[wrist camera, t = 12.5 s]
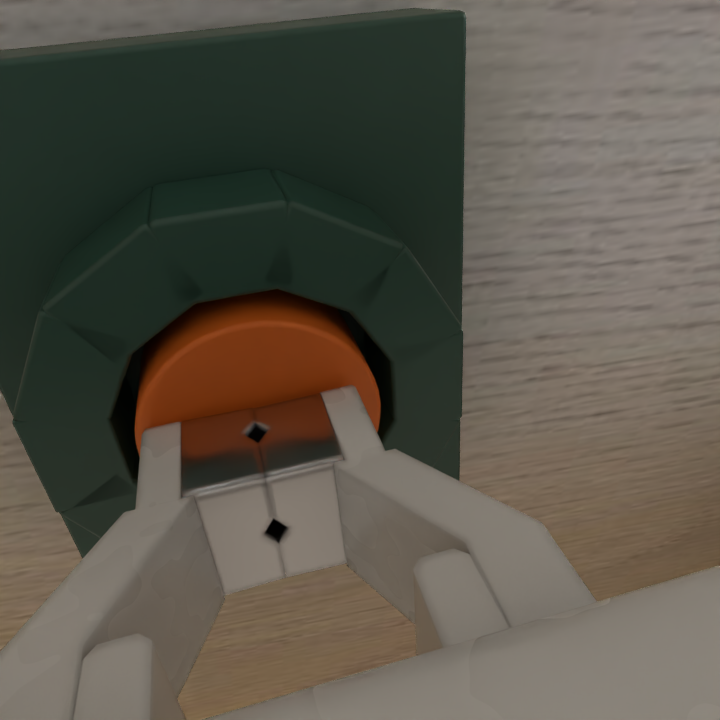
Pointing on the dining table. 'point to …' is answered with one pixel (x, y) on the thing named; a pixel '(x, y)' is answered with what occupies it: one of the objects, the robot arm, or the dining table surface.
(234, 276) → the button box
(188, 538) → the robot arm
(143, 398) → the button
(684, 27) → the dining table surface
